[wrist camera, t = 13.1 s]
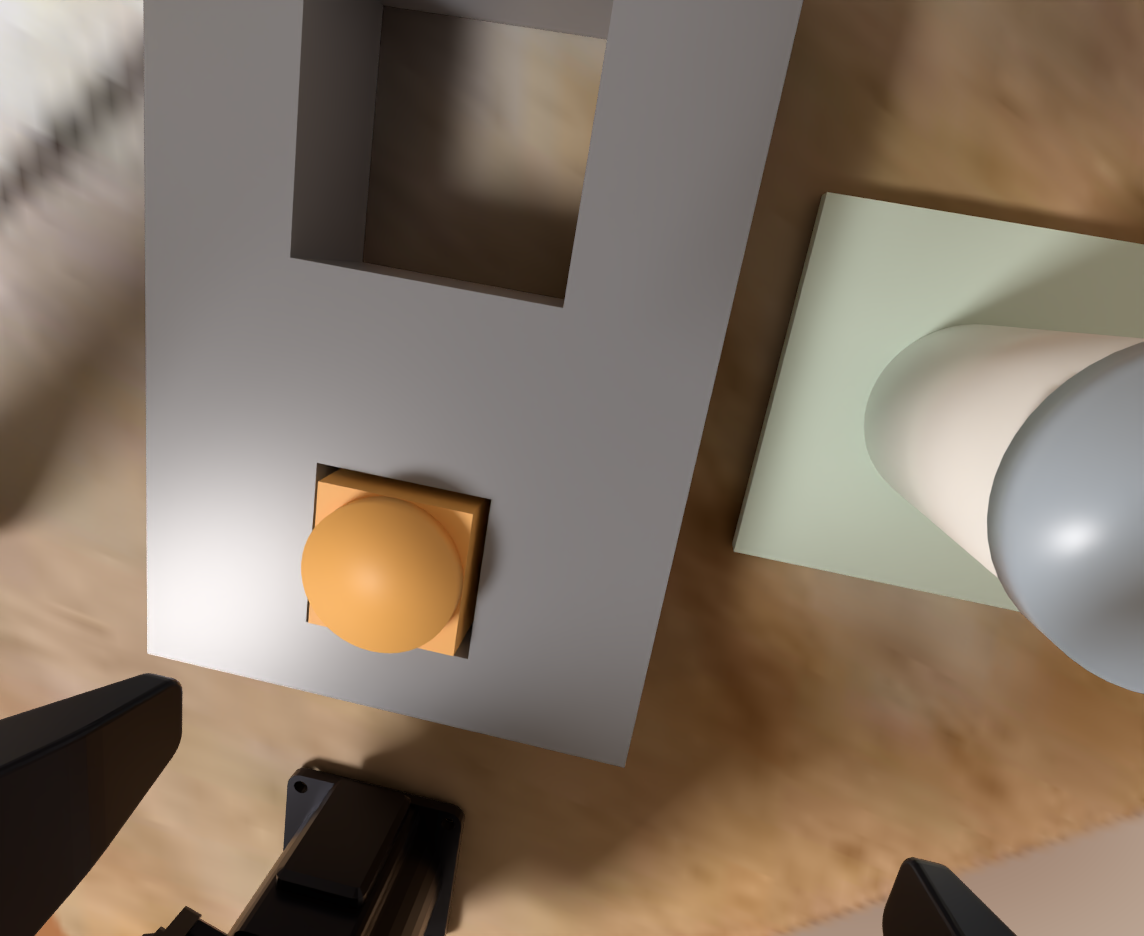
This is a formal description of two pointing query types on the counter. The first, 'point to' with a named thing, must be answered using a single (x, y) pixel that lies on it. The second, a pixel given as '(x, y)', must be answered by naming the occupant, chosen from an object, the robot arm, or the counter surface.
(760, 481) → the mat
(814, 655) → the counter surface
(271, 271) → the housing
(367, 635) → the orange block with disc
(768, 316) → the counter surface
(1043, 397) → the cylinder
